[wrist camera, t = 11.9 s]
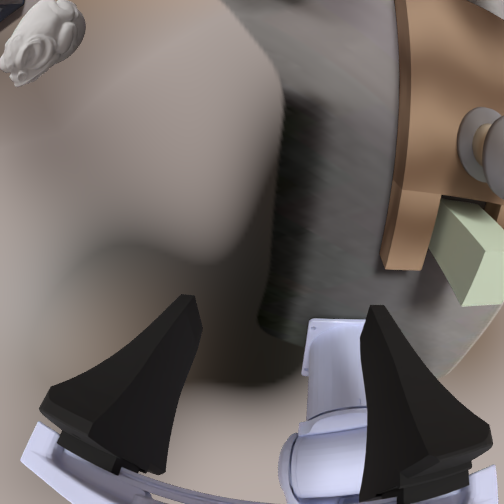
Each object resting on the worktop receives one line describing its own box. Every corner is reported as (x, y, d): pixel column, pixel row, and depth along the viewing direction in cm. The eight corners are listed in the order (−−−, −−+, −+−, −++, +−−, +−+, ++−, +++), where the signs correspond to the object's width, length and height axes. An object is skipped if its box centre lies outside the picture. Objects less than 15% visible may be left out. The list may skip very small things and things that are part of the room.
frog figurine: (47, 80, 15) (-15, 96, 9) (58, 9, 11) (-3, 9, 5) (96, 74, 15) (26, 85, 9) (111, -6, 11) (46, -20, 5)
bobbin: (501, 184, 13) (529, 206, 10) (451, 173, 14) (479, 195, 11) (511, 118, 10) (543, 130, 7) (459, 98, 11) (492, 105, 8)
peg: (476, 203, 16) (525, 253, 10) (464, 247, 18) (501, 304, 12) (438, 198, 17) (485, 250, 11) (426, 245, 19) (461, 306, 13)
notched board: (490, 259, 18) (500, 272, 16) (379, 253, 20) (385, 269, 18) (521, 41, 7) (536, 41, 5) (392, -14, 9) (401, -24, 7)
